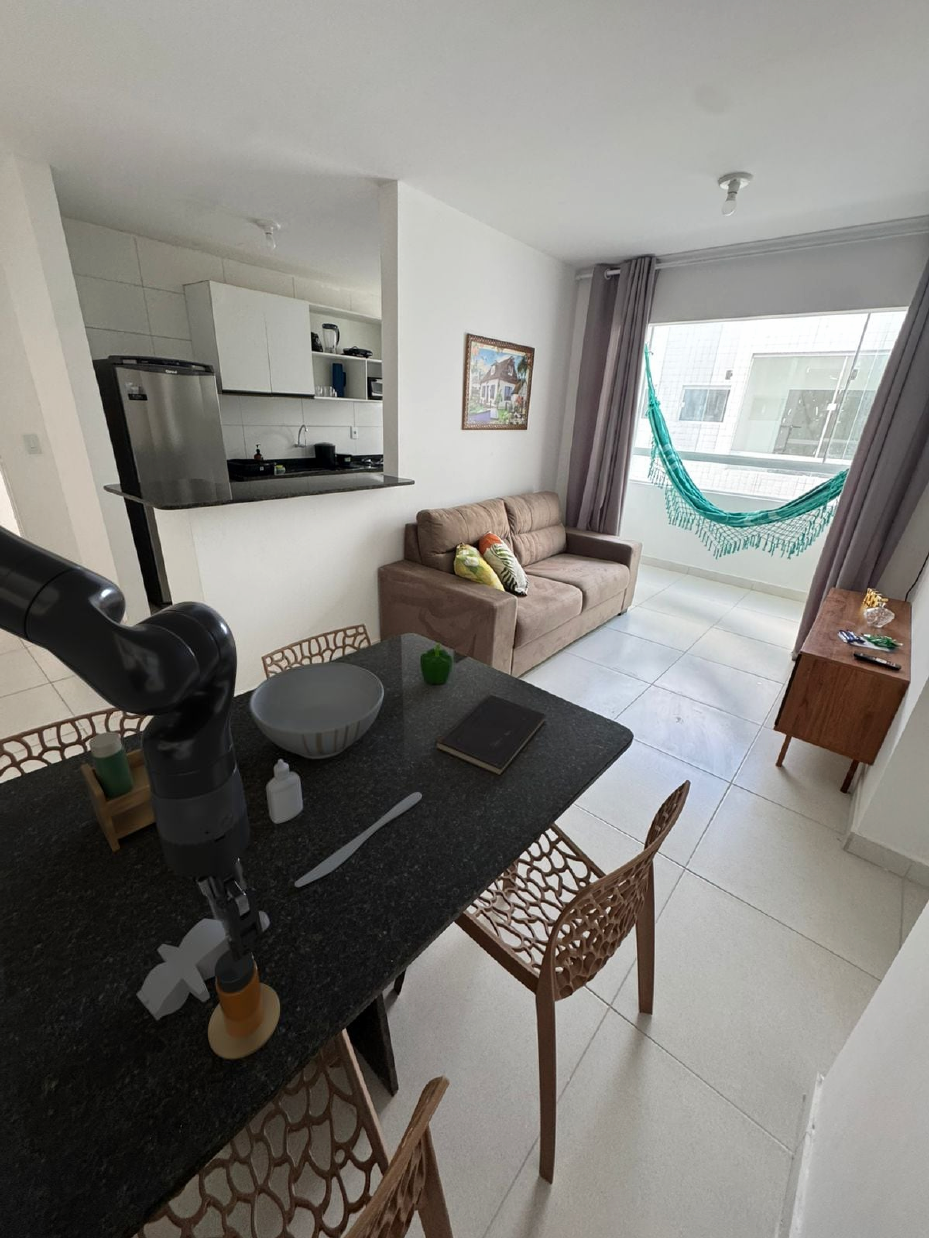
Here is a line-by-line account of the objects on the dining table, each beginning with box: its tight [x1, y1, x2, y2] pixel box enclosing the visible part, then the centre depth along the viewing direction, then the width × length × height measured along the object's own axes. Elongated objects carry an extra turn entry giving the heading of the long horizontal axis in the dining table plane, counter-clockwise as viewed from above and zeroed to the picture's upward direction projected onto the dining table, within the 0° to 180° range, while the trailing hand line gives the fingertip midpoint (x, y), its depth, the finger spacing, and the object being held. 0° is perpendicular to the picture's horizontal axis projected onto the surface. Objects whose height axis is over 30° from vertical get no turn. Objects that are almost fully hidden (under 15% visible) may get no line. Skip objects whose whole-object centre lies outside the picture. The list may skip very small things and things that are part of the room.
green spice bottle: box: [88, 731, 134, 798], centre depth 82 cm, size 4×4×10 cm
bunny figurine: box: [136, 898, 270, 1022], centre depth 66 cm, size 10×5×15 cm
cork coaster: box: [207, 982, 281, 1060], centre depth 62 cm, size 8×8×1 cm
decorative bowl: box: [248, 661, 385, 760], centre depth 109 cm, size 27×27×12 cm
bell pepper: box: [419, 642, 453, 685], centre depth 135 cm, size 8×8×10 cm
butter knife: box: [294, 791, 423, 888], centre depth 88 cm, size 1×27×3 cm
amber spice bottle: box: [214, 950, 264, 1038], centre depth 60 cm, size 4×4×10 cm
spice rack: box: [80, 747, 156, 853], centre depth 90 cm, size 20×9×12 cm, turn 136°
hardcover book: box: [435, 693, 547, 778], centre depth 115 cm, size 16×23×2 cm
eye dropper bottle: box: [265, 758, 304, 825], centre depth 89 cm, size 4×6×12 cm
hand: (225, 924), depth 55 cm, fingers open, 8 cm apart
